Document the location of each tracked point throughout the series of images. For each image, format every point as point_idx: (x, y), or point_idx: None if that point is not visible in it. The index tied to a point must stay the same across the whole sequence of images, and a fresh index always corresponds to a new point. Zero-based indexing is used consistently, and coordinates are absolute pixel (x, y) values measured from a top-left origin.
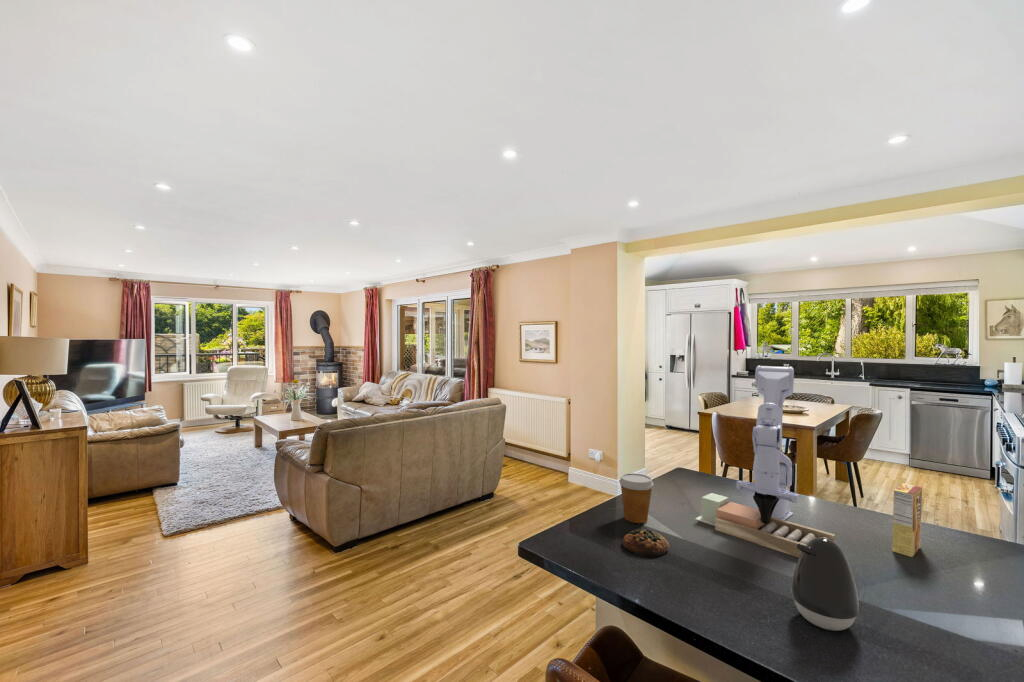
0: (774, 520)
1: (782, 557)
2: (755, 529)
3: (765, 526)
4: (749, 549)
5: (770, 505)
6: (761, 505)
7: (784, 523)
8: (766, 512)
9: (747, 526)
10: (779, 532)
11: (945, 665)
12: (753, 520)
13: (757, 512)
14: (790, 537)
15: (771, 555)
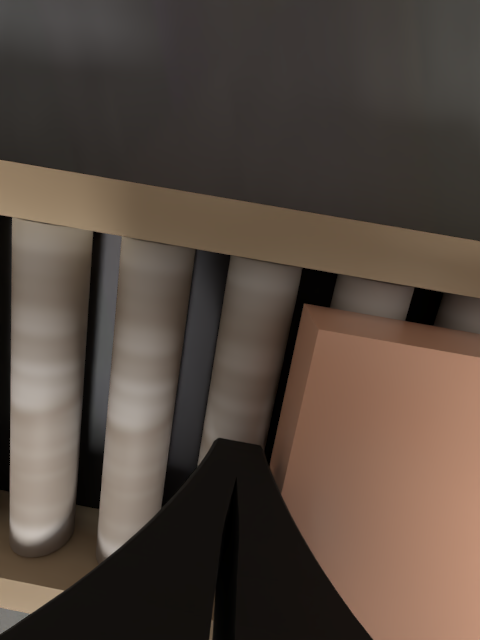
0: None
1: (62, 76)
2: (297, 253)
3: None
4: (302, 44)
5: (20, 637)
6: (268, 626)
7: None
8: (192, 518)
9: (384, 319)
10: (120, 399)
11: None
12: (343, 331)
13: None
14: (21, 340)
15: (134, 51)
